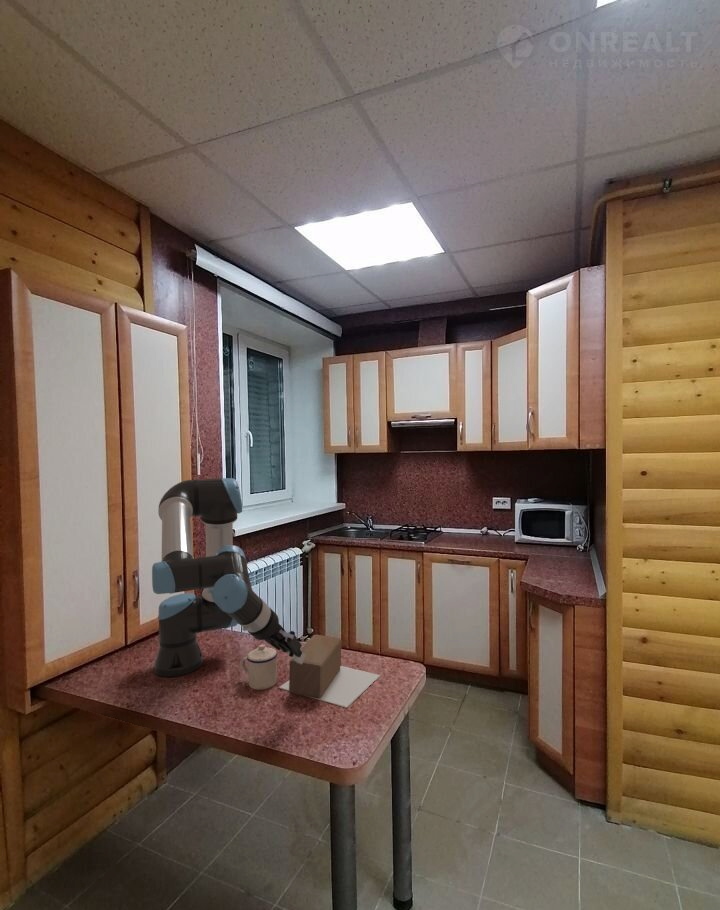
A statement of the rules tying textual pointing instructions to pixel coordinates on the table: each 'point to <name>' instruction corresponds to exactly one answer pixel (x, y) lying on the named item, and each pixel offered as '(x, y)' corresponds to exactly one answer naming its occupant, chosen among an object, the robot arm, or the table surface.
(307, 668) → the block
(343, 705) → the mat
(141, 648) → the table surface
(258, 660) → the teacup with lid
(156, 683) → the table surface
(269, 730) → the table surface
